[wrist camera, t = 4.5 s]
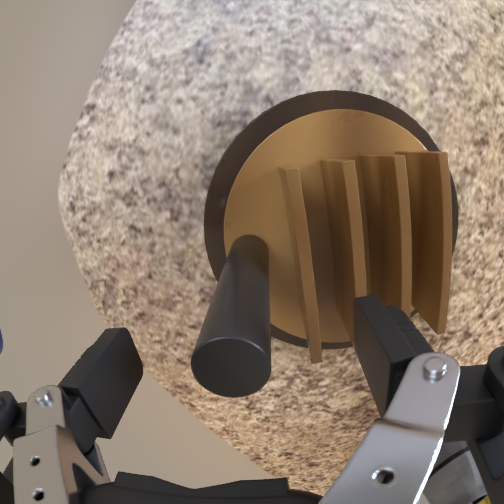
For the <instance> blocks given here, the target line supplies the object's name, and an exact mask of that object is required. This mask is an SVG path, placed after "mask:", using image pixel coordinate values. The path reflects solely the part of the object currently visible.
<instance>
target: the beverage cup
mask: <svg viewBox="0 0 504 504" xmlns="http://www.w3.org/2000/svg"><path fill="white" fill-rule="evenodd" d="M422 493H423V494H424V495H425V497H426V499H427V500H428V502H429V503H430V504H479V503H480V502H481V501H483V500H484V499H485V498H486V497H487V496H488V495H487V492H486V489H485V487H484V484H483V481H482V479H481V476H480V474H479V471H478V469H477V466H476V464H475V461H474V459H473V457H472V454H471V452H470V450H469V447H468V445H467V443H466V441H459V442H448V443H442V444H441V447H440V450H439V452H438V455H437V458H436V461H435V463H434V466H433V468H432V471H431V473H430V476H429V478H428V480H427V483H426V485H425V487H424V489H423V492H422Z"/></svg>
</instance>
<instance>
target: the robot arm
mask: <svg viewBox="0 0 504 504" xmlns="http://www.w3.org/2000/svg"><path fill="white" fill-rule="evenodd" d="M353 317H354V342H355V349H356V353H357V356H358V358H359V361H360V364H361V366H362V369H363V371H364V374H365V376H366V379H367V382H368V384H369V387H370V389H371V392H372V395H373V398H374V400H375V403H376V406H377V408H378V411H379V414H380V417H381V418H376V419H375V420H374V422H373V423H372V425H371V426H370V428H369V430H368V431H367V433H366V435H365V436H364V438H363V439H362V441H361V443H360V444H359V446H358V448H357V449H356V451H355V452H354V454H353V455H352V457H351V458H350V460H349V461H348V463H347V464H346V466H345V467H344V469H343V470H342V472H341V473H340V475H339V476H338V477H337V479H336V480H335V482H334V483H333V484H332V486H331V487H330V488H329V490H328V491H327V492H326V494H325V495H324V496H321V495H318V494H314V493H311V492H307V491H302V490H295V489H290V488H289V484H288V480H287V478H277V479H263V480H240V481H236V482H231V483H226V484H221V485H216V486H211V487H204V488H198V489H191V488H187V487H183V486H180V485H177V484H174V483H170V482H168V481H165V480H162V479H159V478H156V477H153V476H146V475H138V474H131V473H125V472H118V474H117V476H116V478H115V481H114V482H111V481H110V478H109V476H108V473H107V470H106V467H105V464H104V461H103V458H102V455H101V452H100V448H99V446H98V445H97V443H96V442H95V440H96V438H97V437H100V438H106V439H111V438H112V436H113V434H114V432H115V430H116V427H117V426H118V424H119V421H120V419H121V418H122V415H123V413H124V412H125V410H126V408H127V406H128V403H129V402H130V400H131V398H132V395H133V394H134V392H135V390H136V388H137V385H138V384H139V382H140V380H141V378H142V375H143V365H142V361H141V359H140V356H139V354H138V352H137V349H136V347H135V345H134V342H133V340H132V337H131V335H130V332H129V331H128V329H126V328H124V327H123V328H109V329H106V330H105V331H104V332H103V333H102V335H101V336H100V337H99V338H98V340H97V341H96V342H95V343H94V344H93V345H92V346H91V347H89V348H88V349H87V350H86V351H85V352H84V354H83V355H82V356H81V359H79V360H78V361H77V362H76V363H75V365H74V366H73V367H72V368H71V370H70V371H69V372H68V373H67V374H66V376H65V377H64V378H63V380H62V381H61V382H60V383H59V385H58V386H55V385H47V386H44V387H41V388H39V389H37V390H36V391H35V392H34V393H32V394H31V396H30V397H29V398H28V401H27V402H24V403H17V401H16V400H15V398H14V396H13V395H12V394H11V392H9V391H2V392H0V441H1V439H2V437H3V436H4V437H5V438H6V439H7V441H8V442H9V443H10V444H11V446H12V447H13V457H12V459H11V461H10V462H9V464H8V466H7V467H6V469H5V471H4V473H3V474H2V473H1V472H0V504H417V502H418V500H419V498H420V496H421V494H422V492H423V489H424V487H425V485H426V483H427V480H428V478H429V476H430V473H431V471H432V468H433V466H434V463H435V461H436V458H437V455H438V452H439V450H440V447H441V444H442V443H448V442H459V441H466V443H467V445H468V447H469V450H470V452H471V454H472V457H473V459H474V461H475V464H476V466H477V469H478V471H479V474H480V476H481V479H482V481H483V484H484V487H485V489H486V492H487V495H488V497H489V500H490V503H491V504H504V346H501V347H498V348H496V349H495V350H493V351H492V352H491V354H490V355H489V358H488V362H487V364H485V365H475V366H460V365H459V363H458V362H457V360H456V359H454V358H453V357H452V356H450V355H448V354H445V353H440V352H434V351H433V349H432V348H431V346H430V345H429V344H428V342H427V341H426V340H425V338H424V337H423V336H422V334H421V333H420V332H419V330H418V329H416V326H415V325H414V324H413V322H411V320H410V318H409V317H408V316H407V315H406V313H405V312H404V311H403V310H401V309H399V308H397V307H395V306H393V305H391V306H386V307H385V306H384V305H383V303H382V302H381V300H380V299H379V298H378V296H377V295H376V294H372V295H367V296H362V297H357V298H354V299H353Z"/></svg>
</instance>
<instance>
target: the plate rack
mask: <svg viewBox="0 0 504 504" xmlns="http://www.w3.org/2000/svg"><path fill="white" fill-rule="evenodd" d="M224 244H225V251H226V257H227V259H226V262H225V265H224V267H223V270H222V273H221V275H220V278H219V281H218V284H217V287H216V289H215V292H214V295H213V298H212V300H211V303H210V306H209V309H208V312H207V314H206V317H205V320H204V323H203V326H202V328H201V331H200V334H199V337H198V340H197V343H196V345H195V348H194V351H193V354H192V357H191V369H192V372H193V375H194V377H195V378H196V380H197V381H198V382H199V384H201V385H202V386H203V387H204V388H205V389H207V390H208V391H210V392H212V393H214V394H217V395H220V396H224V397H232V398H236V397H244V396H248V395H251V394H253V393H255V392H257V391H259V390H260V389H261V388H262V387H263V386H264V385H265V384H266V383H267V381H268V380H269V377H270V374H271V328H270V323H272V324H273V325H274V326H276V327H278V328H279V329H281V330H283V331H285V332H287V333H289V334H292V335H295V336H297V337H300V338H304V339H307V343H308V348H309V353H310V358H311V363H312V364H313V363H319V362H322V350H321V342H347V341H351V342H352V344H353V347H354V349H355V342H354V317H353V299H354V298H357V297H362V296H367V295H372V294H376V295H377V296H378V298H379V299H380V300H381V302H382V303H383V305H384V306H385V307H386V306H391V305H393V306H395V307H397V308H399V309H401V310H403V311H404V312H405V313H406V315H407V316H408V317H409V318H410V313H411V312H412V311H413V310H414V309H416V310H417V312H418V313H419V314H420V315H421V316H422V317H423V319H424V320H425V321H426V322H427V323H428V325H429V326H430V327H431V328H432V329H433V330H434V332H435V333H436V334H437V335H438V334H441V333H444V332H445V328H446V320H447V312H448V303H449V293H450V280H451V262H452V201H451V184H450V171H449V161H448V153H447V152H434V151H428V150H427V149H426V148H425V147H424V146H423V144H422V143H421V142H420V141H419V140H418V139H417V138H416V137H414V136H413V135H412V134H411V133H410V132H409V131H407V130H406V129H404V128H403V127H401V126H400V125H398V124H396V123H395V122H393V121H391V120H389V119H386V118H384V117H382V116H379V115H376V114H373V113H369V112H365V111H359V110H351V109H333V110H326V111H320V112H315V113H312V114H309V115H306V116H303V117H300V118H297V119H295V120H293V121H291V122H289V123H287V124H285V125H284V126H282V127H281V128H279V129H278V130H276V131H275V132H273V133H272V134H271V135H269V136H268V137H267V138H266V139H265V140H264V141H263V142H262V143H261V144H260V145H258V146H257V147H256V149H255V150H254V151H253V152H252V154H251V155H250V156H249V157H248V159H247V160H246V161H245V163H244V165H243V166H242V168H241V170H240V171H239V173H238V175H237V177H236V179H235V181H234V184H233V186H232V188H231V191H230V194H229V198H228V201H227V205H226V210H225V218H224ZM355 352H356V349H355ZM356 354H357V353H356Z"/></svg>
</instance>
